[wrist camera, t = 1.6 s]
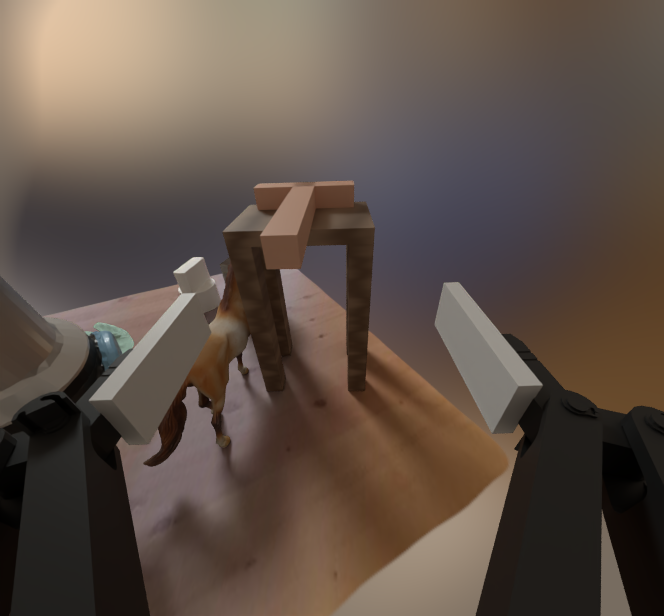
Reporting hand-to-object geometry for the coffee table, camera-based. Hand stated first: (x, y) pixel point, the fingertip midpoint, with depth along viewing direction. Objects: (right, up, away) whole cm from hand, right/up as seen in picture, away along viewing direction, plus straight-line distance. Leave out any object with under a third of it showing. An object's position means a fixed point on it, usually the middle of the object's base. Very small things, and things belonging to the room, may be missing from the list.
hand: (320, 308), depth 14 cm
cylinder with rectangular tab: (-35, +1, +59) cm, 68 cm away
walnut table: (-2, -12, +39) cm, 41 cm away
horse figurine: (-19, -16, +34) cm, 42 cm away
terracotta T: (-3, +10, +17) cm, 20 cm away
